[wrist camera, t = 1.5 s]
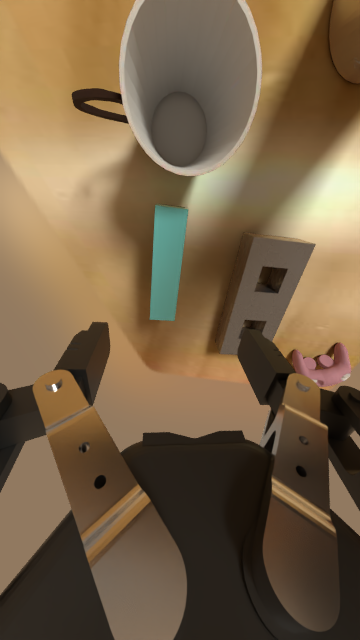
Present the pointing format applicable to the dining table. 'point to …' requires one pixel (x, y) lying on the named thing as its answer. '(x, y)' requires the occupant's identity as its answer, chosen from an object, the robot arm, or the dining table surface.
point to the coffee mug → (186, 81)
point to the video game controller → (324, 366)
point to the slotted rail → (261, 287)
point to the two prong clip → (167, 260)
